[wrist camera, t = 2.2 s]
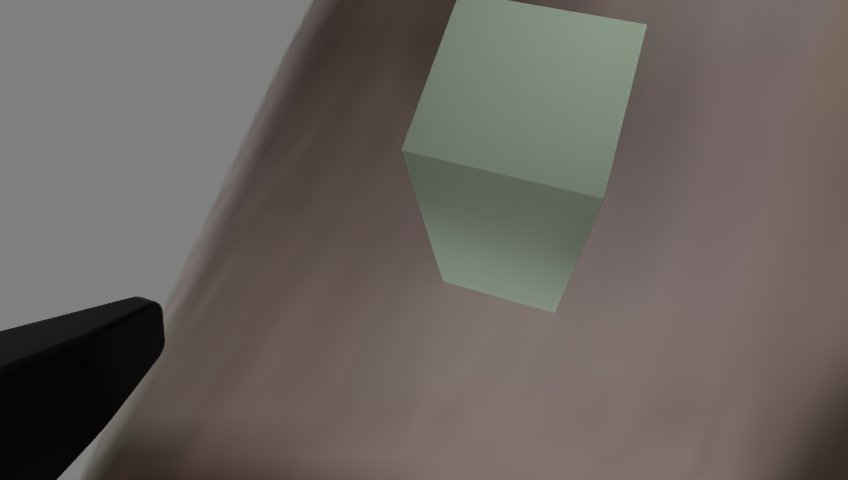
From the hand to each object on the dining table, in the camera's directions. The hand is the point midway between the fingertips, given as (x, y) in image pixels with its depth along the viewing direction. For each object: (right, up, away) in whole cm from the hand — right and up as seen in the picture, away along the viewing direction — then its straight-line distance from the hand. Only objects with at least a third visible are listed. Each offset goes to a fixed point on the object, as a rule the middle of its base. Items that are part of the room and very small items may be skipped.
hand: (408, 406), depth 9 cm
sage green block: (+4, +2, +15) cm, 15 cm away
